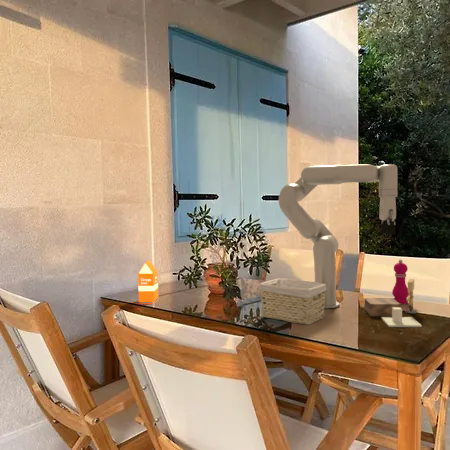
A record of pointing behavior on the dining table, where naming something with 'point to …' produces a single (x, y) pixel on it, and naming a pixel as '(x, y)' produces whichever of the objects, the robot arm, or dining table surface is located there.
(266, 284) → the storage basket
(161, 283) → the dining table surface
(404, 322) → the cover
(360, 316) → the dining table surface
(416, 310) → the silver metal disc
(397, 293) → the pepper mill
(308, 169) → the robot arm
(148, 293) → the orange juice
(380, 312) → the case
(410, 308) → the key
